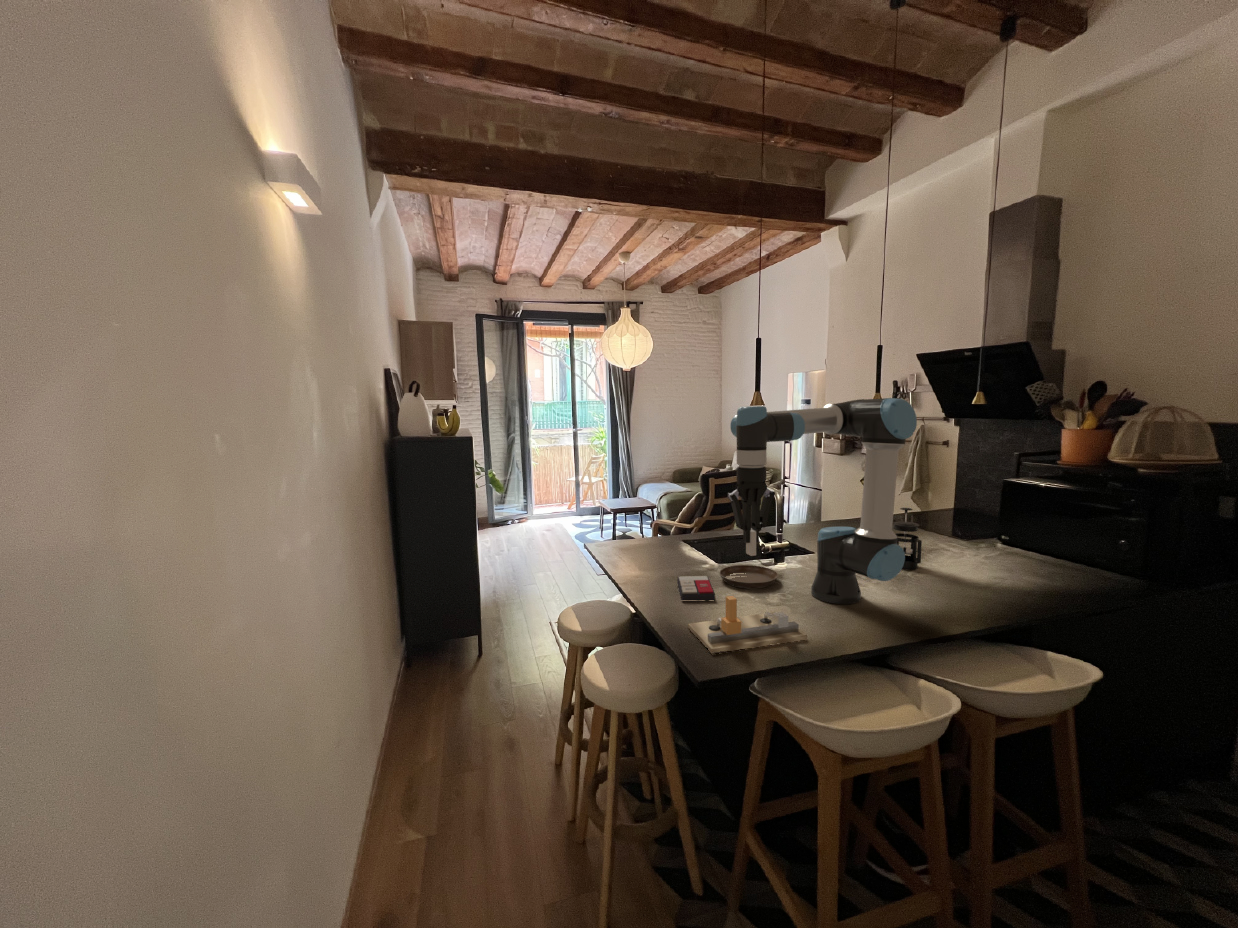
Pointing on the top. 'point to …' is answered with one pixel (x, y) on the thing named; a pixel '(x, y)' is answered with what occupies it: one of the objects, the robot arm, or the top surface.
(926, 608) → the top surface
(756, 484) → the robot arm
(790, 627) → the rail
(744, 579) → the plant saucer
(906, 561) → the french press
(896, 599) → the top surface
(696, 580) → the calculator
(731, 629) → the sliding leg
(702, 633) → the hole plate
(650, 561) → the top surface
